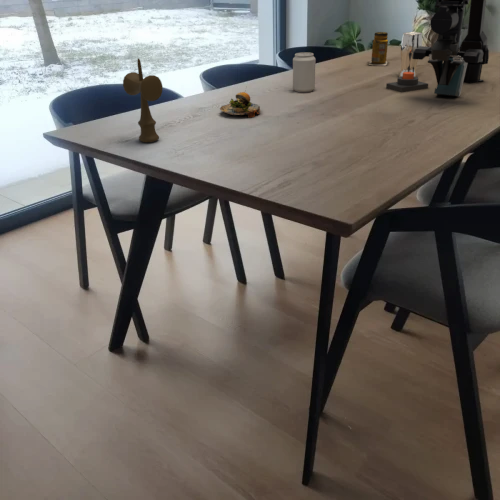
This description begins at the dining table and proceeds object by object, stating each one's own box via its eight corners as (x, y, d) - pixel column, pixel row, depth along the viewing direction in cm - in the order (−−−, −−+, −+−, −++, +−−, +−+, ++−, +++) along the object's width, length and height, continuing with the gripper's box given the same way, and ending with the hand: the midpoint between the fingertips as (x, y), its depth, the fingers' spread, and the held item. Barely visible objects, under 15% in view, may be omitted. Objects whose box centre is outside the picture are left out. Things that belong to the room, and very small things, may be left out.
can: (288, 90, 178) (288, 53, 172) (307, 87, 181) (307, 50, 175) (300, 94, 172) (300, 56, 166) (319, 91, 175) (320, 53, 169)
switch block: (411, 84, 179) (412, 74, 177) (427, 88, 173) (429, 77, 171) (385, 88, 175) (386, 77, 173) (401, 92, 169) (402, 81, 167)
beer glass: (415, 74, 193) (420, 31, 186) (419, 78, 187) (424, 34, 180) (396, 75, 194) (401, 32, 186) (399, 79, 188) (404, 34, 180)
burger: (215, 111, 156) (213, 85, 152) (251, 106, 160) (250, 81, 156) (228, 120, 146) (226, 94, 143) (266, 115, 150) (266, 89, 146)
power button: (408, 77, 174) (409, 71, 173) (415, 79, 172) (416, 73, 171) (399, 78, 173) (400, 72, 172) (407, 80, 170) (407, 74, 169)
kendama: (149, 147, 127) (138, 62, 118) (129, 139, 134) (117, 58, 124) (169, 141, 131) (160, 58, 121) (148, 134, 137) (138, 54, 127)
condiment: (387, 62, 218) (390, 31, 212) (386, 65, 211) (389, 34, 205) (369, 62, 220) (372, 31, 214) (368, 65, 213) (370, 34, 207)
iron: (445, 54, 161) (436, 49, 152) (469, 55, 157) (461, 50, 149) (437, 94, 164) (428, 91, 156) (460, 96, 161) (451, 94, 152)
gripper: (408, 31, 146) (402, 87, 154) (477, 34, 136) (467, 94, 144) (421, 26, 154) (415, 79, 162) (488, 28, 144) (478, 85, 152)
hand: (443, 84), depth 155 cm, fingers closed on iron, 2 cm apart
